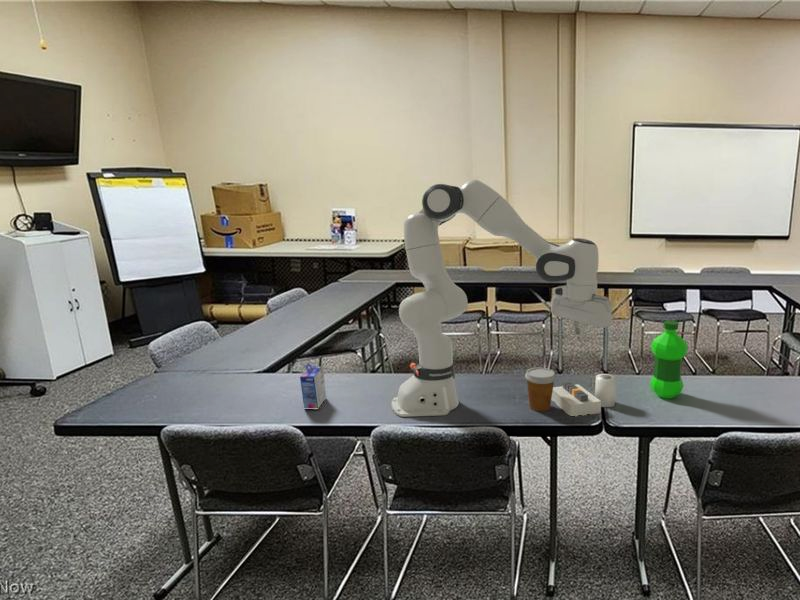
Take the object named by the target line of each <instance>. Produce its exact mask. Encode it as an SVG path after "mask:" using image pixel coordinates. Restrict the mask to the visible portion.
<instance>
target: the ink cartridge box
mask: <svg viewBox="0 0 800 600" xmlns="http://www.w3.org/2000/svg"><path fill="white" fill-rule="evenodd" d="M304 367H305V370H304V372H302V374H301V375H300V377H299V380H300V387H301V395H302V401H303V402H302V403H303V409H304V408H319V407H320V405H321V404H322V403H323V401H324V400H325V398H326V399H327V391H326V384H325V375H324V374H325V373H324V367H323V365H321V366H318V365H316V366H315V365H314V366H313V365H311V364H310V363H309V362H308V363H307V364H306V365H305V366H304ZM325 401H326V400H325ZM325 401H324V402H325ZM323 404H324V403H323ZM323 404H322V405H323ZM320 408H321V407H320Z"/></svg>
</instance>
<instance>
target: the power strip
mask: <svg viewBox="0 0 800 600" xmlns="http://www.w3.org/2000/svg"><path fill="white" fill-rule="evenodd" d="M553 401H554V402H555V403H556V404H555V403H554V402H553ZM551 402H553V403H554V404H555V405H557V406H558V407H559V408H560V409H561V408H562V409H563V410H564V411H563V410H562V409H561V410H562V411H563V412H564V413H566V415H568V416H569V415H570V416H575V417H579V416H578V415H582V416H588V415H587V414H590V415H596V414H602V407H601V401H600V400H599V399H598V398H596V397H595V394H592V393H591V392H589V391H588V390H587V389H586V388H584V387H583V386H581V385H580V384H579V383H577V384H574V383H573V382H571V381H569V380H568V381H563V382H562V386H561V385H560V386H557V385H556V384H555V383H554V385H553V392H552V398H551ZM570 416H569V417H570Z"/></svg>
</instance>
